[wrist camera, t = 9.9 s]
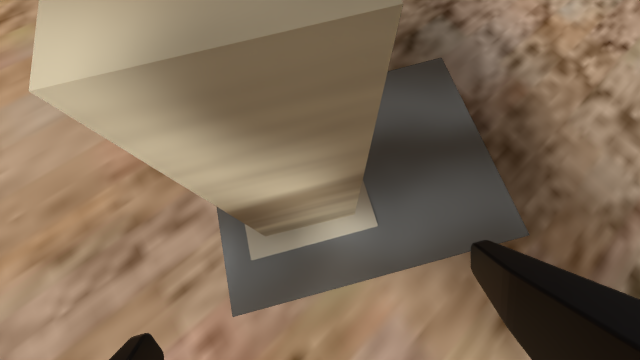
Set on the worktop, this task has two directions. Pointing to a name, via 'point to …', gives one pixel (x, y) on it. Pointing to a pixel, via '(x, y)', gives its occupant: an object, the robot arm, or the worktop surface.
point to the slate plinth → (385, 203)
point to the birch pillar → (228, 94)
